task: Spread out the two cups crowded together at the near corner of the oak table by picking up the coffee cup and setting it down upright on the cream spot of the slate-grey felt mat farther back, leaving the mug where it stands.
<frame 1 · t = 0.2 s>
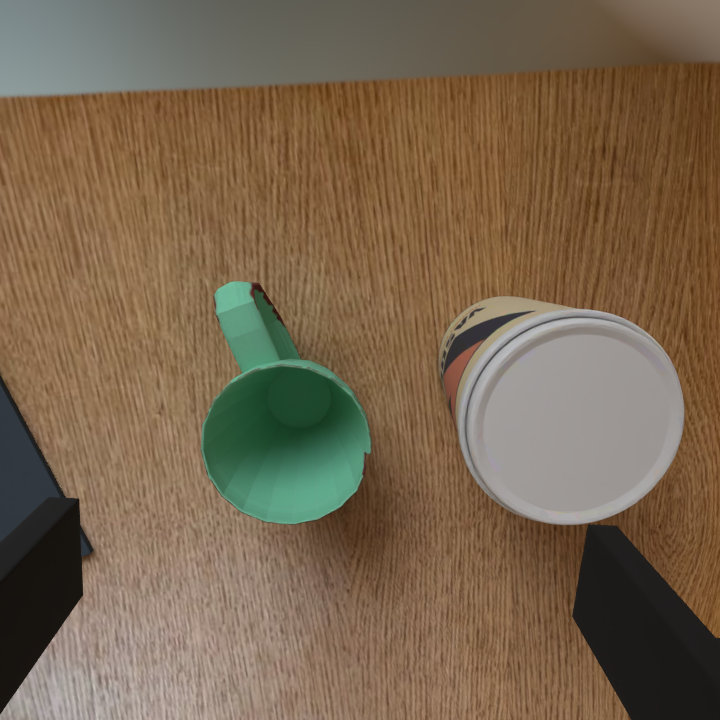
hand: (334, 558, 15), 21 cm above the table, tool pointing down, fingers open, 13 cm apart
coffee cup: (500, 358, 36), on the table
mug: (287, 366, 36), on the table
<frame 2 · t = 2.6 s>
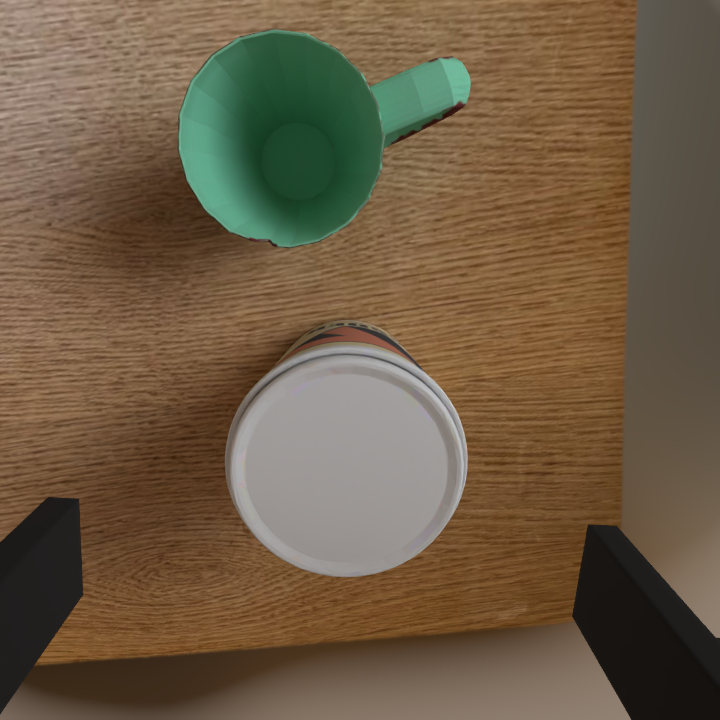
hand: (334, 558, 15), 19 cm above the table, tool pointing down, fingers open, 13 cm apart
coffee cup: (347, 384, 34), on the table
mug: (333, 148, 31), on the table
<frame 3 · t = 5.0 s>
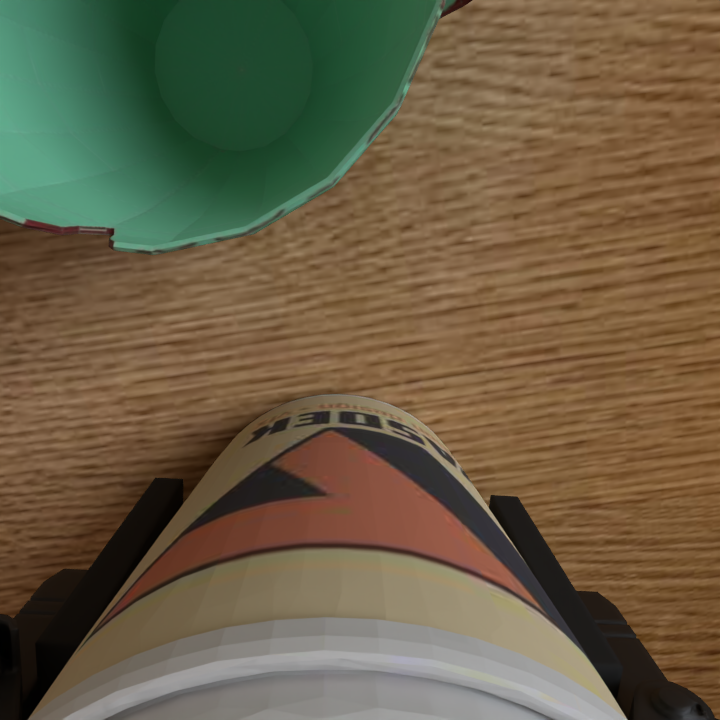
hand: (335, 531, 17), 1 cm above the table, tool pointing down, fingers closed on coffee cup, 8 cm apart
coffee cup: (337, 513, 18), on the table, touching gripper
mug: (310, 42, 15), on the table
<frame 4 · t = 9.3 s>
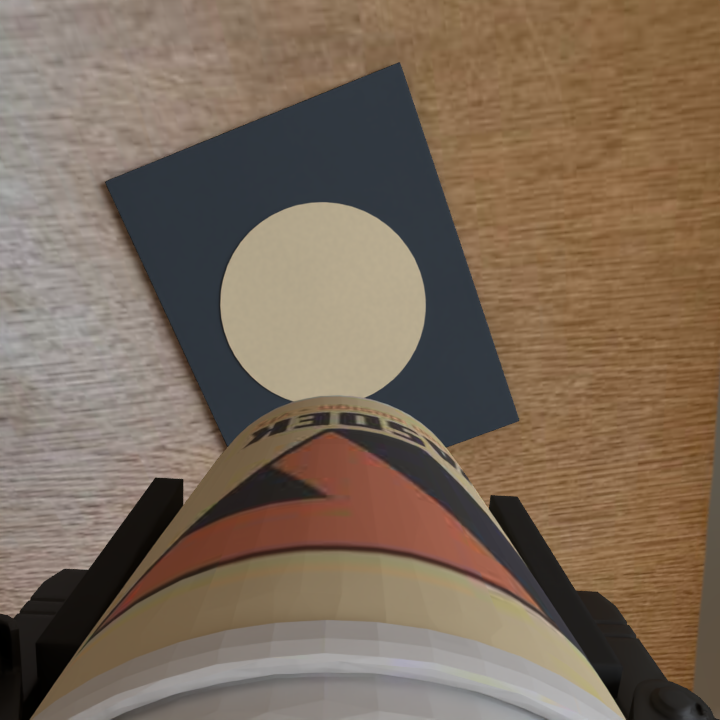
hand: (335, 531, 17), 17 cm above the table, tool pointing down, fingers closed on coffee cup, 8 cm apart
coffee cup: (337, 514, 18), point 16 cm above the table, touching gripper
place mat: (323, 306, 33), on the table
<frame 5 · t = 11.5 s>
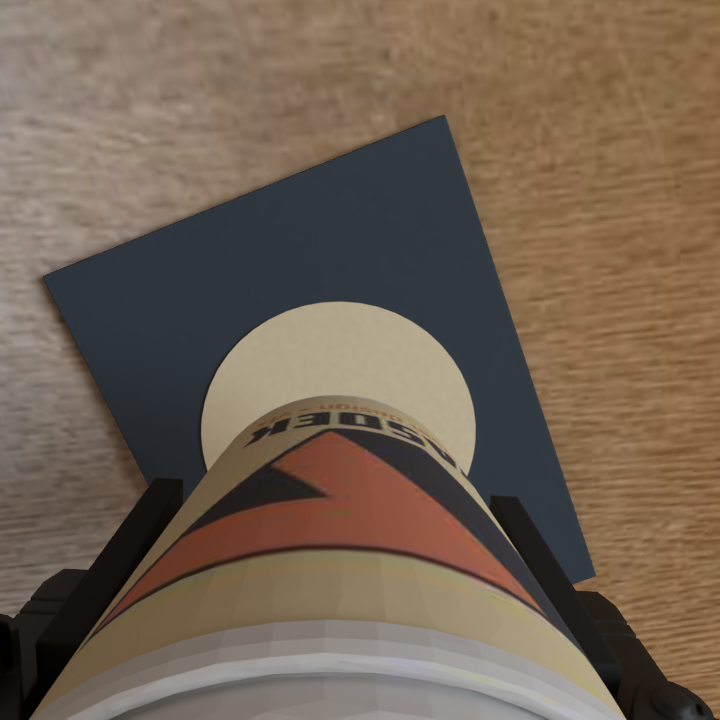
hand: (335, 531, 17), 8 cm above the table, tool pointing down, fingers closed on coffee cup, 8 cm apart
coffee cup: (337, 514, 18), point 7 cm above the table, touching gripper
place mat: (339, 433, 24), on the table
when the fingers open (1 cm above the table, at t = 13.5 s): coffee cup stays where it is, resting on place mat.
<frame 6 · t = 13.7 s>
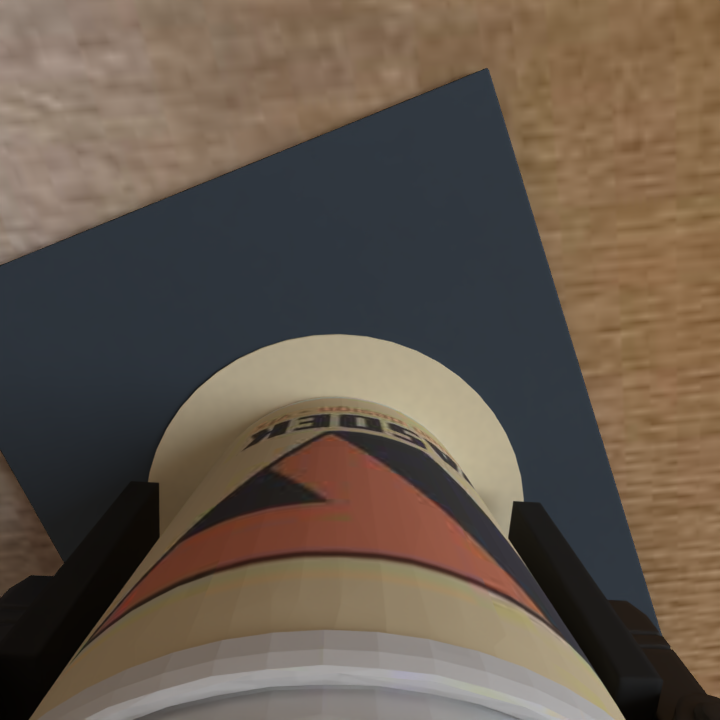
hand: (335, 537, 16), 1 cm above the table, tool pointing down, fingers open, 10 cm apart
coffee cup: (337, 517, 18), resting on place mat
place mat: (336, 511, 18), on the table
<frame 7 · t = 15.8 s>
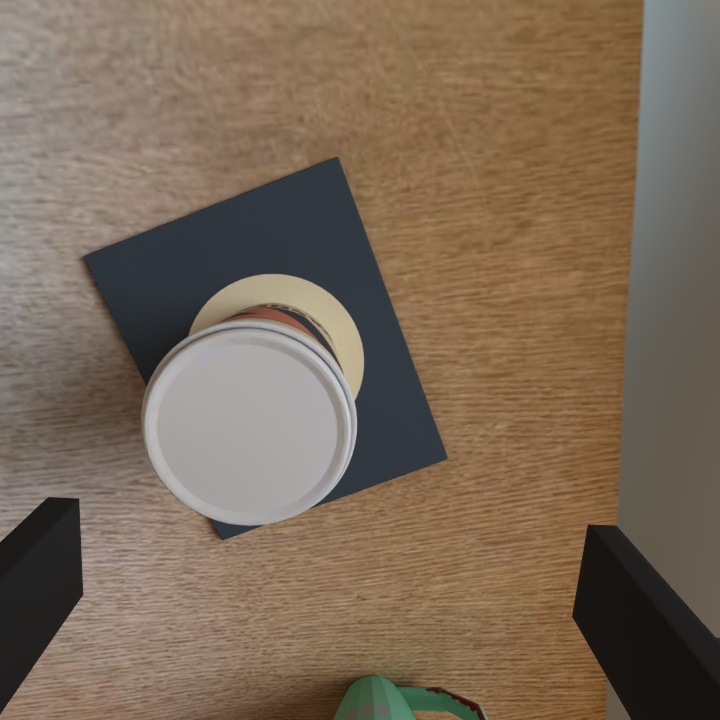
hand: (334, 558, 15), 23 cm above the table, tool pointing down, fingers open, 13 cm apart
coffee cup: (276, 363, 37), resting on place mat
place mat: (275, 361, 37), on the table
mug: (397, 687, 44), on the table
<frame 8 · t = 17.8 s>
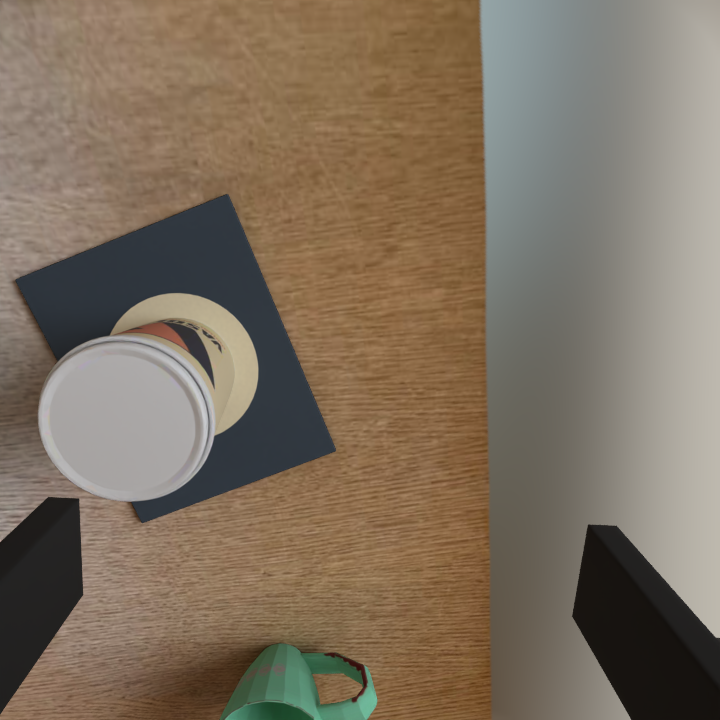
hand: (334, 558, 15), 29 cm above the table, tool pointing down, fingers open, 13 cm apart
coffee cup: (182, 369, 43), resting on place mat
place mat: (183, 367, 44), on the table
mug: (303, 654, 50), on the table
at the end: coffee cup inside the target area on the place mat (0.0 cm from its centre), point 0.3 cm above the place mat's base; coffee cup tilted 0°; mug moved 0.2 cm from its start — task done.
